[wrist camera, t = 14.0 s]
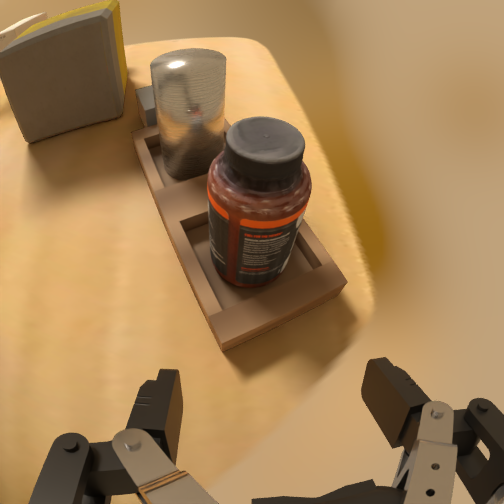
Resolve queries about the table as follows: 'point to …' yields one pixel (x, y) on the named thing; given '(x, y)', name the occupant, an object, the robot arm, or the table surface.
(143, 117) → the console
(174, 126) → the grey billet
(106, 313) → the table surface
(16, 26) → the supplement box
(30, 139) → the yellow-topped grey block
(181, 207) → the brown wooden tray
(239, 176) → the supplement bottle
